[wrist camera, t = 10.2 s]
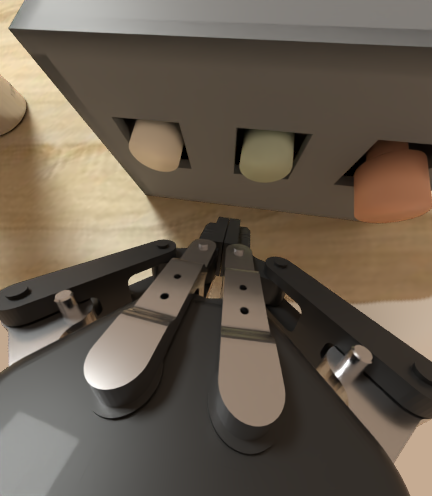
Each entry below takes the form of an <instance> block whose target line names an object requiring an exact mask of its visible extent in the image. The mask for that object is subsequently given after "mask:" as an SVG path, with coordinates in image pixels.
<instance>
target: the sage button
mask: <svg viewBox="0 0 432 496" xmlns="http://www.w3.org/2000/svg"><path fill="white" fill-rule="evenodd" d="M294 139H295V133H293V132H282V131H270V130H258V129H247V128H245V131H244V138H243V144H242V151H241V158H240V164H239V168H240V171H241V173H242V174H243V175H244V176H245V177H246V178H248V179H250V180H252V181H256V182H262V183H267V182H274V181H277V180H280V179H282V178H284V177H285V176H287V175H288V174H289V173H290V171H291V169H292V165H293V152H294Z"/></svg>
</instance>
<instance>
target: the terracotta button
mask: <svg viewBox="0 0 432 496" xmlns="http://www.w3.org/2000/svg"><path fill="white" fill-rule="evenodd" d="M431 208H432V196H431V187H430V178H429V169H428V160H427V155H426V154H425V153H424V152H422V151H419V150H412V149H409V145H408V142H398V141H386V140H378V141H377V142H376V143H375V144H374V145H373V146H372V147H371V148H370V149H369V150H368V151H367V152H366V162H364V163H363V164H362V165H360V166H359V167H358V168H357V169H356V171H355V173H354V217H355V218H356V219H357V220H359V221H362V222H368V223H390V222H398V221H403V220H408V219H412V218H415V217H418V216H421V215H423V214H425V213H427V212H428V211H430V210H431Z"/></svg>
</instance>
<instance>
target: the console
mask: <svg viewBox="0 0 432 496" xmlns="http://www.w3.org/2000/svg"><path fill="white" fill-rule="evenodd" d="M8 29H9V30H10V31H11V32H12V33H13V35H14V36H15V37H16V38H17V40H18V41H19V42H20V43H21V44H22V46H23V47H24V48H25V49H26V50H27V52H28V53H29V54H30V55H31V56H32V58H33V59H34V60H35V61H36V63H37V64H38V65H39V66H40V67H41V69H42V70H43V71H44V72H45V73H46V75H47V76H48V77H49V78H50V80H51V81H52V82H53V83H54V84H55V86H56V87H57V88H58V89H59V90H60V92H61V93H62V94H63V95H64V97H65V98H66V99H67V100H68V101H69V103H70V104H71V105H72V106H73V107H74V109H75V110H76V111H77V112H78V113H79V115H80V116H81V117H82V118H83V120H84V121H85V122H86V123H87V124H88V126H89V127H90V128H91V129H92V130H93V132H94V133H95V134H96V135H97V137H98V138H99V139H100V140H101V141H102V143H103V144H104V145H105V146H106V147H107V149H108V150H109V151H110V152H111V153H112V155H113V156H114V157H115V158H116V160H117V161H118V162H119V163H120V164H121V166H122V167H123V168H124V169H125V170H126V172H127V173H128V174H129V175H130V177H131V178H132V179H133V180H134V181H135V183H136V184H137V185H138V186H139V187H140V189H141V190H142V191H143V192H144V193H145V195H151V196H159V197H167V198H176V199H184V200H192V201H200V202H208V203H216V204H224V205H233V206H241V207H249V208H257V209H265V210H273V211H282V212H290V213H298V214H306V215H314V216H322V217H330V218H339V219H347V220H355V221H359V220H357V219H356V218H355V217H354V177H351V176H343V175H344V174H345V173H346V172H347V171H348V170H349V169H350V168H351V167H352V166H353V165H354V164H355V163H356V162H357V161H358V167H359V166H360V165H362V164H363V163H364V162H366V152H367V151H368V150H369V149H370V148H371V147H372V146H373V145H374V144H375V143H376V142H377V141H378V140H386V141H398V142H408V145H409V149H412V150H419V151H422V152H424V153H425V154H426V155H427V160H428V169H429V178H430V187H431V191H432V0H24V2H23V4H22V6H21V7H20V9H19V11H18V12H17V14H16V16H15V18H14V19H13V21H12V23H11V25H10V26H9V28H8ZM136 119H142V120H154V121H165V122H177V123H179V125H180V128H181V132H182V136H183V139H184V143H185V146H186V150H187V154H188V157H189V160H186V159H180V162H179V166H178V168H177V169H175V170H174V171H170V172H162V171H157V170H154V169H151V168H149V167H147V166H145V165H143V164H142V163H140V162H139V161H138V160H137V159H136V158H135V157H134V156H133V155H132V153H131V152H130V150H129V142H130V138H131V135H132V132H133V129H134V126H135V122H136ZM245 128H247V129H258V130H270V131H282V132H293V133H295V139H294V151H297V152H298V153H297V155H296V157H295V159H294V161H293V165H292V169H291V171H290V173H289V174H288V175H287V176H285V177H284V178H282V179H280V180H277V181H274V182H267V183H262V182H256V181H252V180H250V179H248V178H246V177H245V176H244V175H243V174H242V173H241V171H240V168H239V165H235V156H236V146H242V144H243V138H244V131H245Z"/></svg>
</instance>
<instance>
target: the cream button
mask: <svg viewBox="0 0 432 496" xmlns="http://www.w3.org/2000/svg"><path fill="white" fill-rule="evenodd" d="M183 145H184V139H183V136H182V132H181V128H180V125H179V123H177V122H165V121H154V120H142V119H136V122H135V126H134V129H133V132H132V135H131V138H130V142H129V150H130V152H131V153H132V155H133V156H134V157H135V158H136V159H137V160H138V161H139V162H140V163H142V164H143V165H145V166H147V167H149V168H151V169H154V170H157V171H162V172H170V171H174V170H175V169H177V168H178V166H179V162H180V158H181V153H182V149H183Z"/></svg>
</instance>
